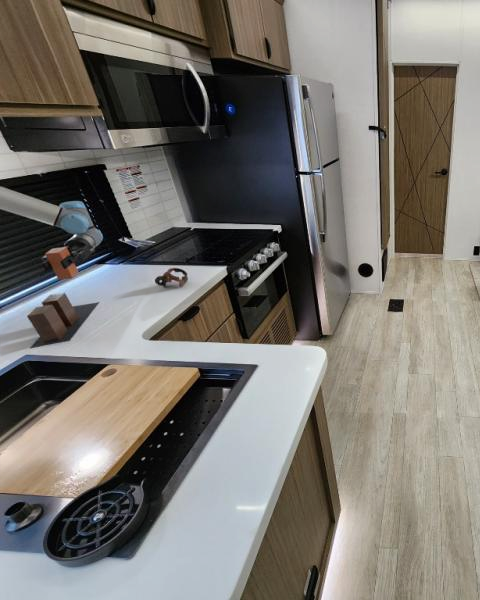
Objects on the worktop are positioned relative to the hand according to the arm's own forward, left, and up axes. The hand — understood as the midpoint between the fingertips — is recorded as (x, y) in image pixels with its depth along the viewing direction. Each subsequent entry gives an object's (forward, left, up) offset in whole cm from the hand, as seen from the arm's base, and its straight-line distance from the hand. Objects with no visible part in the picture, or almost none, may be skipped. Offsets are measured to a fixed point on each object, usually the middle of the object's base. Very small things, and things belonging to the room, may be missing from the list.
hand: (54, 266), depth 116 cm
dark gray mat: (+5, -10, -18) cm, 21 cm away
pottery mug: (+23, +20, -18) cm, 36 cm away
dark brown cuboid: (+9, -18, -17) cm, 26 cm away
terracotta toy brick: (-2, +5, -6) cm, 8 cm away
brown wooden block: (+5, -10, -17) cm, 20 cm away
